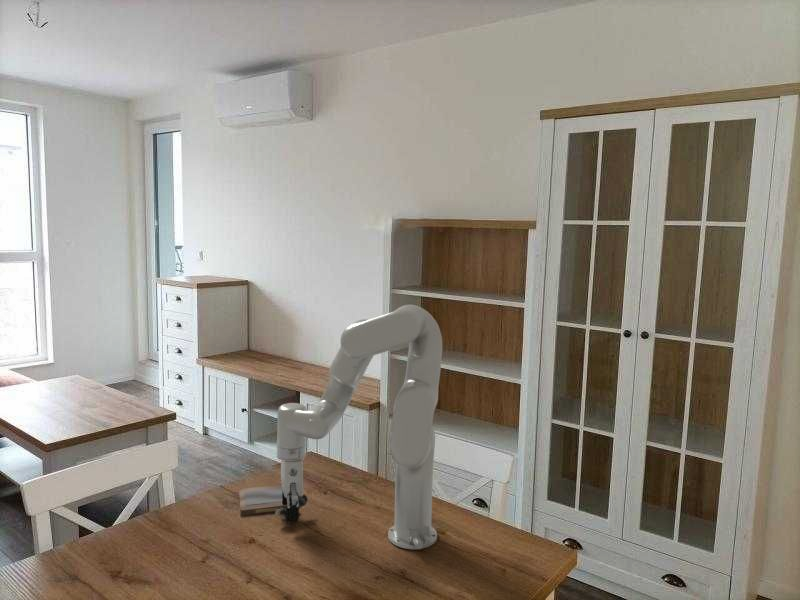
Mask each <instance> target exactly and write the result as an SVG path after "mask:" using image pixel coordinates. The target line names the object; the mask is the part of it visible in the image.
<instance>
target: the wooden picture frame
mask: <svg viewBox="0 0 800 600" xmlns="http://www.w3.org/2000/svg"><path fill="white" fill-rule="evenodd" d="M282 491H283V489H282V484H275V485H265V486H255V487H254V486H253V487H244V488H239V489H238V495H239V496H238V497H239V498H238V499H239V510H240V511H239V512H240V516H249V515H257V514H267V513H275V511H276V510H278V509H280V508H284V509H286V507H287V505H283V504H282Z"/></svg>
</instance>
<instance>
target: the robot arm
mask: <svg viewBox="0 0 800 600" xmlns="http://www.w3.org/2000/svg"><path fill="white" fill-rule="evenodd" d="M407 345H408V354H407V360H406V370H405V377H404V381H403V385H402V387H401V388H400V390H398V393H397V395H396V397H395V399H394V403H393V404H394V405H393V412H392V420H391V427H390V428H391V429H390V437H389V444H388V445H389V454H390V457H391V459H392V460H393V462H394V463H395V474H394V475H395V476H394V477H395V480H394V484H395V485H394V525H392V526H390V528H389V529H388V532H387V538H388V540H389V542H390V543H392V544H393V545H394V546H396V547H399V548H402V549H406V550H422V549H426V548H429V547H431V546H433V545H434V544H435V543H436V542H437V540H438V532H437V530H436V529H435V528H434V527H433V526H432V519H433V518H432V510H433V481H434V460H435V459H434V457H435V449H436V448H435V444H436V432H435V429H434V428H435V427H434V426H433V422H434V413H435V410H436V407H437V405H438V402H439V387H440V386H439V385H440V378H441V377H440V376H441V370H442V369H441V368H442V356H443V337H442V332H441V330H440V327H439V324H438V322H437V321H436V319H435V318H434V317H433V315H432V314H430V313H429V311H427V310H426V309H424V308H423V307H421V306H419V305H415V304H405V305H402V306H400V307H398V308H397V309H395V310H393V311H391V312H389V313H386V314H382V315H380V316H377V317H374V318H371V319H367V318H363V319H358V320H356V321H354V322H353V323H351V324H349V325H348V326H346V327H345V328H344V329H343V332H342V333H341V336H340V347H339V349H338V351H337V353H336V354H335V356H334V358H333V360H332V361H331V364H330V366H329V368H328V372H329V381H328V383H327V386H326V388H325V390H324V392H323V393H322V395H321V398H320V399H319V400H318V403H317V404H316V405H314V406H313V407H312V408H310V409H307V407H306V406H305V405H304V404H301V403H297V402H288V403H284V404H281V405H280V406H279V407H278V410H277V420H276V421H277V422H276V423H277V426H276V429H277V431H276V433H277V434H276V435H277V436H276V458H277V459H278V460H280V482H281V485H282V489H283V491H282V504H283V505H287V507H286V522H289V523H294V522H295V523H296V522H299V521H300V517H299V516H300V515H299V514H300V508H299V505H298V495H299V496H301V497H302V496H303V495H304V469H303V460H304V459H305V458H306V457H307V456H306V455H307V452H306V451H307V449H306V448H307V439H311V440H320V439H324V438H325V437H326V436H328V435H329V433H330V432H331V431H332V430H333V429H334V428H335V427H336V426H337V424H338V423H339V422H340V420H341V419H342V417H343V415H344V413H345V412H346V410H347V407H348V406H349V404H350V402H351V400H352V399H353V396H354V394H355V392H356V390H357V388H358V386H359V384H360V382H361V380H362V378H363V377H364V374H365V373H366V370H367V369H368V367H369V365H370V363H371V361H372V359H373V358H374V356H376V355H379V354H382V353H385V352H389V351H393V350H396V349H399V348H402V347H405V346H407ZM298 520H299V521H298Z"/></svg>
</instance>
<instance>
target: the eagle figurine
mask: <svg viewBox="0 0 800 600" xmlns="http://www.w3.org/2000/svg"><path fill="white" fill-rule="evenodd" d="M308 499H309V498H308V496H307V495H306V494H305V493H303V496H302V497H301V496H299V495H298V505H299V509H301V508H302V507H304V506H306V505H307V502H308ZM274 514H275V515H276V517H280V516H283V517H284V519H283V518H282V519H281V520H280V521H281V522H284V523H285V524H284V528H287V526H288V525H289V524H290V522H286V509H284V508H280V509H278V510H276V511H275V512H274ZM300 521H301V520H300V519H299V520H298V521H297V522H299V523H300Z"/></svg>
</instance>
